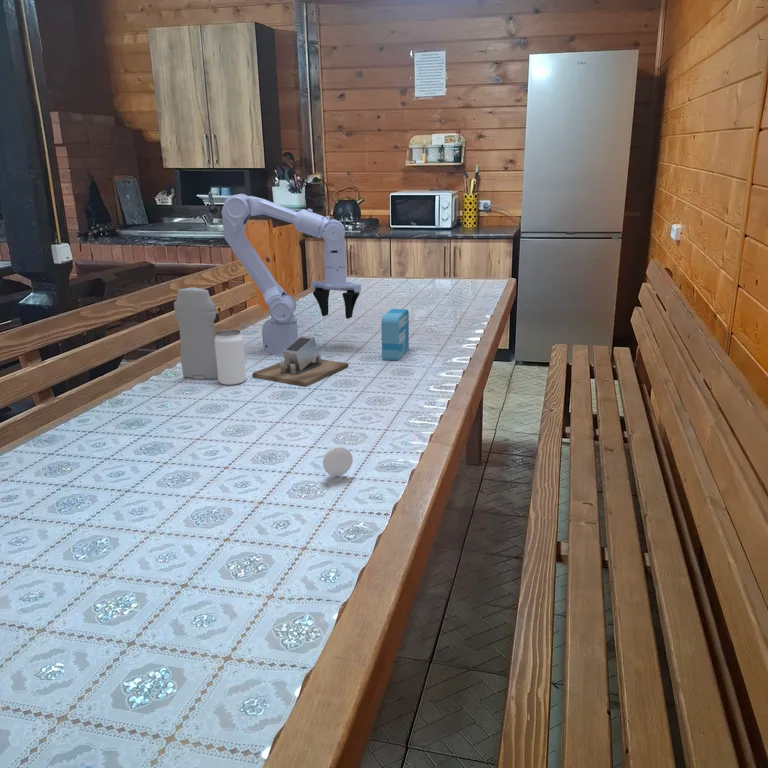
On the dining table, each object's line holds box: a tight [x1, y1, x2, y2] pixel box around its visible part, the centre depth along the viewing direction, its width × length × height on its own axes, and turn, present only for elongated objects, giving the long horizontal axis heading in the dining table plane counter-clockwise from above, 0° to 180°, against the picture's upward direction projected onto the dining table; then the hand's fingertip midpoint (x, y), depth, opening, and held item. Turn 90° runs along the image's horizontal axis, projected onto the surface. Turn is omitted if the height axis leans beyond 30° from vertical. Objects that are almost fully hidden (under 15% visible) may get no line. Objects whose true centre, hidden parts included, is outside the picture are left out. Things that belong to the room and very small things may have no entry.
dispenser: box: [173, 286, 218, 381], centre depth 160 cm, size 11×4×22 cm, turn 77°
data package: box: [380, 308, 410, 362], centre depth 178 cm, size 12×4×12 cm, turn 165°
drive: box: [283, 335, 320, 371], centre depth 165 cm, size 4×8×5 cm, turn 150°
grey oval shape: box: [322, 446, 354, 477], centre depth 111 cm, size 5×3×5 cm, turn 113°
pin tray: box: [252, 353, 349, 387], centre depth 166 cm, size 16×18×4 cm
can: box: [215, 329, 247, 386], centre depth 158 cm, size 6×6×12 cm
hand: (337, 316), depth 184 cm, fingers open, 7 cm apart
